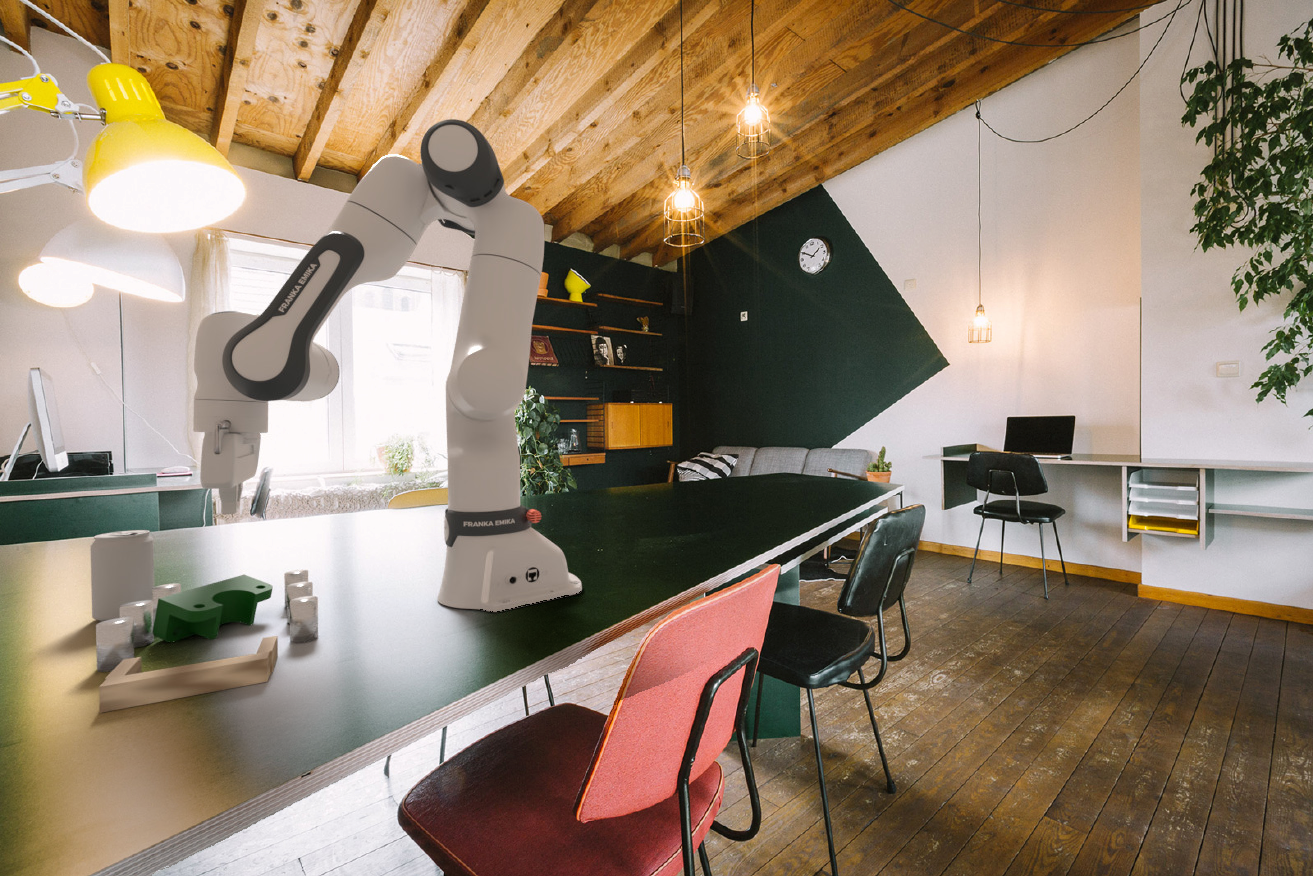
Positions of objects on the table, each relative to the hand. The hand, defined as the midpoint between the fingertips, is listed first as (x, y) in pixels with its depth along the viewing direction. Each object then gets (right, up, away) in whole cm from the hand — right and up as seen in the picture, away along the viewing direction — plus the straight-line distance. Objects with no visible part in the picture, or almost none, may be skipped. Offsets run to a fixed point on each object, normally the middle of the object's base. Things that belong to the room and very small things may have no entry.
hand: (230, 513), depth 82 cm
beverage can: (-12, -14, -4) cm, 19 cm away
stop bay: (+15, -15, -24) cm, 32 cm away
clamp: (+6, -15, -9) cm, 18 cm away
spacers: (+7, -14, -10) cm, 19 cm away
